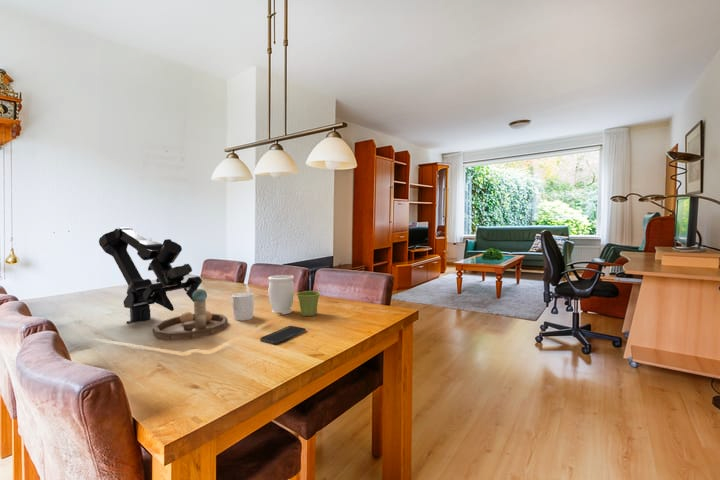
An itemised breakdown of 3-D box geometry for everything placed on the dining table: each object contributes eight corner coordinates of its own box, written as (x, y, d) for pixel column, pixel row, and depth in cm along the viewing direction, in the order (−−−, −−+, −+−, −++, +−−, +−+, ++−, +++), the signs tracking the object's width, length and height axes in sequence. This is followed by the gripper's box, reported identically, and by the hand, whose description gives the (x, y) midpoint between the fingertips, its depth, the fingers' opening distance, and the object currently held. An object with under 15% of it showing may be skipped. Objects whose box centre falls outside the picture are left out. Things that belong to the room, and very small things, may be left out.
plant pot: (292, 314, 137) (292, 293, 136) (312, 309, 143) (312, 289, 142) (304, 319, 130) (304, 297, 129) (325, 314, 136) (324, 293, 135)
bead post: (189, 335, 109) (188, 290, 108) (196, 330, 114) (194, 287, 113) (205, 335, 109) (203, 290, 108) (211, 329, 114) (210, 287, 113)
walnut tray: (137, 338, 110) (137, 329, 109) (192, 318, 131) (192, 311, 131) (191, 346, 102) (190, 336, 102) (240, 324, 123) (239, 316, 123)
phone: (258, 338, 107) (289, 325, 120) (258, 342, 107) (290, 328, 120) (277, 342, 103) (307, 328, 116) (277, 346, 103) (307, 331, 116)
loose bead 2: (196, 323, 121) (195, 311, 121) (205, 320, 125) (205, 308, 125) (205, 325, 120) (205, 312, 119) (214, 321, 124) (214, 309, 123)
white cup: (247, 323, 124) (247, 297, 123) (228, 322, 126) (227, 296, 125) (258, 317, 132) (257, 292, 131) (240, 316, 133) (239, 291, 133)
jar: (271, 309, 144) (270, 274, 143) (295, 308, 145) (295, 274, 144) (266, 316, 134) (265, 279, 133) (292, 315, 134) (292, 278, 133)
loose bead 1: (177, 324, 120) (176, 312, 120) (187, 321, 124) (186, 309, 124) (186, 326, 118) (186, 313, 118) (196, 322, 123) (196, 310, 122)
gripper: (146, 260, 107) (169, 298, 103) (198, 254, 124) (219, 287, 120) (133, 281, 112) (154, 319, 107) (185, 273, 128) (205, 306, 124)
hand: (185, 306), depth 115 cm, fingers open, 9 cm apart
